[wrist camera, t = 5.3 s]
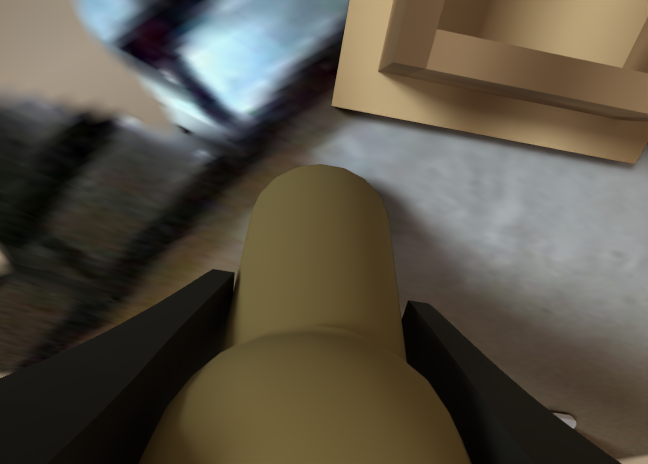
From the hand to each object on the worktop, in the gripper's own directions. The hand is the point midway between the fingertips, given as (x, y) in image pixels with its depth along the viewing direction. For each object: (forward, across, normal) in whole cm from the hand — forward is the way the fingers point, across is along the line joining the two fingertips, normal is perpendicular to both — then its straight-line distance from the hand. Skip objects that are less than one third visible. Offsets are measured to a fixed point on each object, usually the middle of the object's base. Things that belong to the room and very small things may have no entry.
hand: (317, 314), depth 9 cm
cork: (+5, 0, 0) cm, 5 cm away
